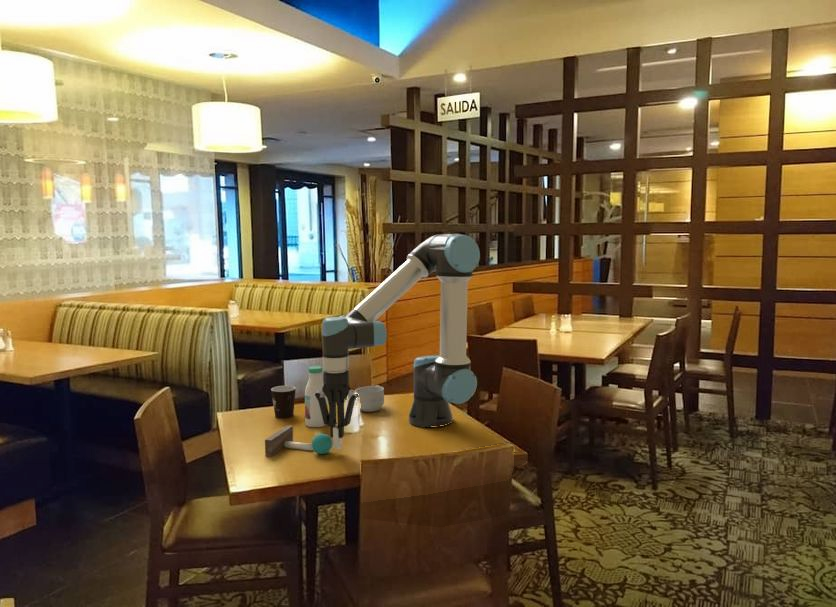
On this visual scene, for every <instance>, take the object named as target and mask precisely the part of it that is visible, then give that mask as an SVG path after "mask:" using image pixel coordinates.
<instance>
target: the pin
mask: <svg viewBox="0 0 836 607" xmlns="http://www.w3.org/2000/svg"><path fill="white" fill-rule="evenodd" d="M284 447H285V449H287V448H288V449H295V450H302V451H314V450H313V448H312V443H309V442H298V441H293V442H290V441H285V442H284Z"/></svg>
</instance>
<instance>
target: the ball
mask: <svg viewBox="0 0 836 607" xmlns="http://www.w3.org/2000/svg"><path fill="white" fill-rule="evenodd" d="M311 444H312V448H313V450H312V451H314V452H315V453H316V454H318V455H326V454H327V453H329V452H330V451H331V450H332V448H333V439H332V437H331V436H330V435H328V434H327V433H319V434H316V435H315V436H314V437H313V438H312V441H311Z"/></svg>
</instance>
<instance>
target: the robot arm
mask: <svg viewBox="0 0 836 607" xmlns="http://www.w3.org/2000/svg"><path fill="white" fill-rule="evenodd" d="M480 252H481V251H480V248H479V245H478V243H477V242H476V241H475V240H474V239H473V238H472V237H470V236H469V235H466V234H461V233H453V234H451V233H450V234H449V233H439V234H438V233H436V234H435V235H431V236H430V237H428V238H426V239H425V240H424V241H423V242H421V243H419V244H418V245H417V246H416V247H415V248H414V249H413V250H412V251H411V252H410V253H408V255H407V256H406V261H404V262H403V263H402V264H401V265H399V267H397V269H396V270H394V271H393V272H392V273H391V274H390V275H388V277H387V278H386V279H384V280H383V281H382V283H380V284H379V285H378V286H377V287H375V289H373V291H371V293H370V294H369V295H367V296H366V297H365V298H364V299H363V300H362V301H361V302H359V303H358V304H357V305H356V306H355V307H353V309H352V310H351V311H349V312H348V313H347V314H344V315H341V316H331V317H330V316H329V317H326V318H324V319H323V320H322V325H321V340H322V342H321V343H322V344H321V345H322V379H323V383H324V385H323V387H322V390H321V391H319V392H317V393H316V394H315V396H316V398H317V400H318V402H319V406H320V410H321V414H322V418H323V422H324V424H325V425H326V426H329V431H330V432H329V437H330V438H332V448H333V450H339V449H341V448H342V438H344V437H345V427H347V426H349V425H350V424H351V420H352V416H353V412H354V406H355V404H356V398H357V397H358V394H355V392H353V391H352V390H351V386H350V371H349V367H350V365H349V364H350V363H349V361H350V360H349V352H350V351H349V350H351V349H361V348H371V347H372V348H375V347H379V346H383V345H384V344H385V343H386V341H387V338H388V337H387V335H388V333H387V332H388V331H387V327H386V325H385V324H384V322H383V321H380V320H378V319H379V318H380V317H381V316H382V315H383V314H384V313H385V312H386V311H387V310H388V309H389V308H391V307H392V306H393V305H394V304H395V303H396V302H397V301H398V300H399V299H400V298H401V297H402V296H403V295H404V294H406V293H407V292H408V291H409V290H410V289H411V288H412V287H413V286H415V285H416V283H417V282H419V281H420V280H421V279H422V278H427V277H428V276H430V274H432V273H434V272H435V276H436V278H437V279H438V280H439V282H440V319H439V320H440V321H439V324H440V325H439V354H436V355H435V354H433V355H424V356H418V357H416V358H415V359H414V360H413V367H412V370H413V401H412V405H411V408H410V410H409V414H408V422H410V423H411V424H410V423H409V424H410V425H412V424H413V425H412V426H414V425H417V426H416V427H418V426H424V427H423V428H425V427H431V426H440V425H445V424H448V423H450V422H452V423H453V413H452V409H451V407H450V404H449V403H451V404H456V405H457V404H458V405H460V404H463V403H466V402H468V401H469V400H470V398H472V397H473V396H474V395H475V392H476V390H477V387H478V378H477V376H476V375H475V374H474V372H473V371H472V370H471V368H472V367H471V363H472V362H471V359H470V358H469V357H468V356H467V335H468V333H467V331H468V330H467V328H468V326H467V323H468V322H467V320H468V288H469V286H468V284H469V283H468V282H469V281H470V280H471V279H472V278H473V276H474V275H473V273H474V272H473V270H475V269H476V268H477V266H478V265H479V262H480V258H481V253H480ZM377 320H378V321H377ZM325 395H326V397H327V399H328V407H327V403H326V399H325V397H324V396H325ZM347 397H348V398H347ZM346 398H347V399H348V402H347V405H346V410H345V400H346Z"/></svg>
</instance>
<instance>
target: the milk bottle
mask: <svg viewBox="0 0 836 607" xmlns="http://www.w3.org/2000/svg"><path fill="white" fill-rule="evenodd" d="M308 375H309V377H308V381H307V383H306V386H305V388H304V389H305V390H304V418H305V419H304V422H305V426H306V427H309V428H323V427H325V426H327V425H325V424H324V422H323V418H322V414H321V410H320V406H319V402H318V400H317V398H316V396H315V394H316V393H317V392H319V391H321V390H322V387H323V385H324V383H323V366H319V365H317V366H316V365H315V366H309V367H308ZM324 397H325V399H326V403H327V407H328V408H329V404H328V398H327V397H326V395H325V396H324Z"/></svg>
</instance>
